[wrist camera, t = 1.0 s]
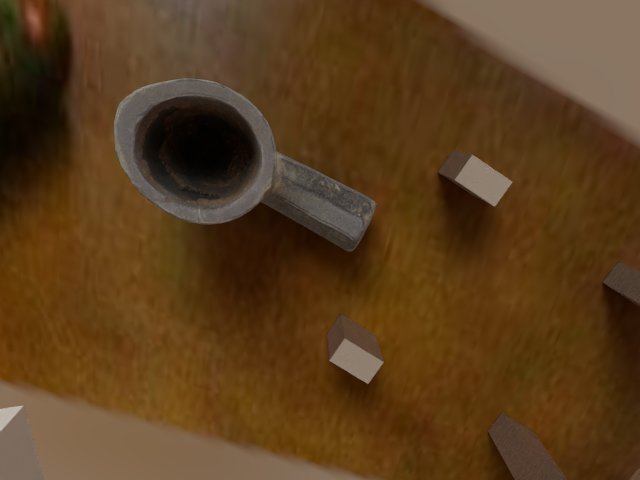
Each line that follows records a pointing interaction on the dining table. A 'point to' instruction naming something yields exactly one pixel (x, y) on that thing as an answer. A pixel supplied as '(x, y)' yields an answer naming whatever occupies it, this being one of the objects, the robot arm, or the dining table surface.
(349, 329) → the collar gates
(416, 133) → the dining table surface
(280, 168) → the pipe
